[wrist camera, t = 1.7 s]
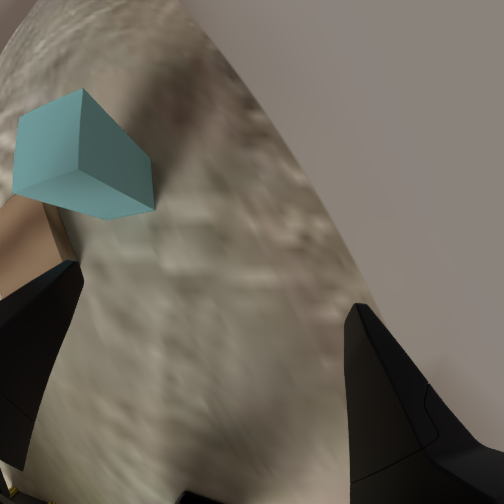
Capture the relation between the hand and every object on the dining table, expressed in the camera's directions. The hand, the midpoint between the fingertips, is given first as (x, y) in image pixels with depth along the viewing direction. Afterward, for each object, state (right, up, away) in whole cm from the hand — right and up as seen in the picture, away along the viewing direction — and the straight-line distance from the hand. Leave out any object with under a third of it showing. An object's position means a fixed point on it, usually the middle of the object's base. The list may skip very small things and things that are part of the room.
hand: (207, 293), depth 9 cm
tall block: (-9, +7, +14) cm, 18 cm away
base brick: (-20, +2, +14) cm, 24 cm away
